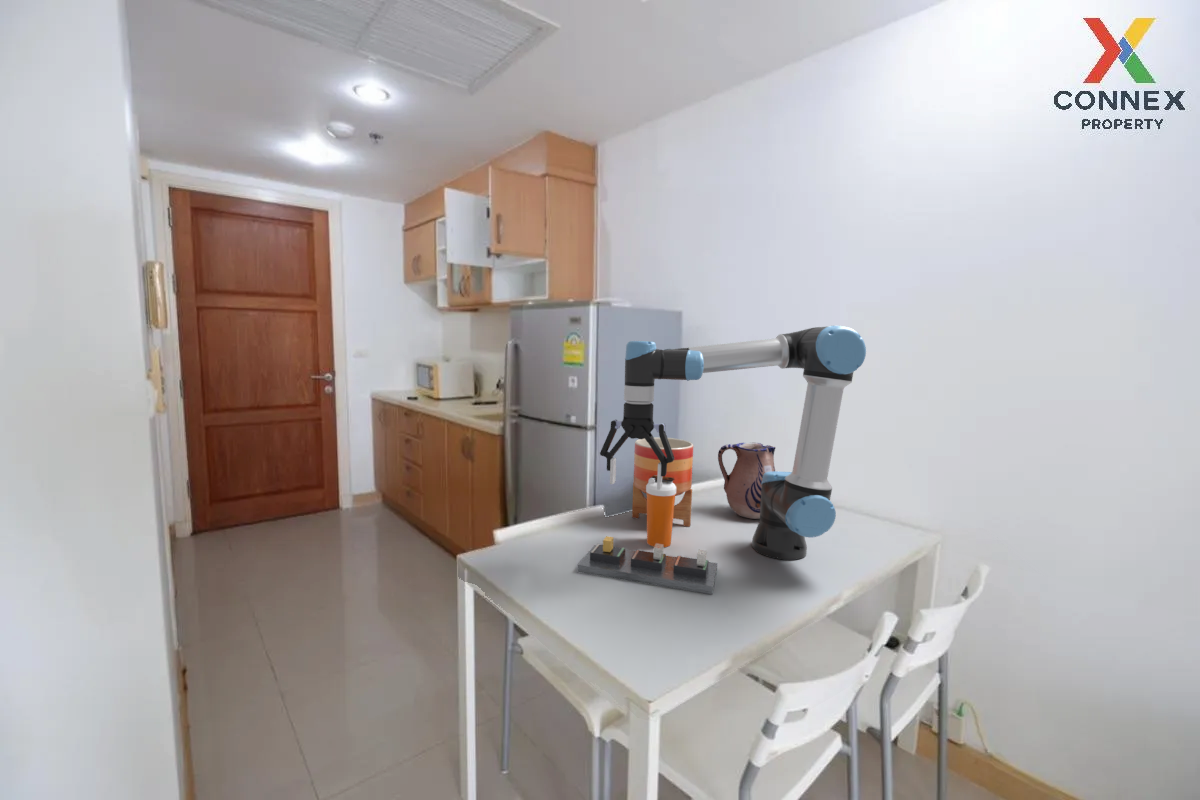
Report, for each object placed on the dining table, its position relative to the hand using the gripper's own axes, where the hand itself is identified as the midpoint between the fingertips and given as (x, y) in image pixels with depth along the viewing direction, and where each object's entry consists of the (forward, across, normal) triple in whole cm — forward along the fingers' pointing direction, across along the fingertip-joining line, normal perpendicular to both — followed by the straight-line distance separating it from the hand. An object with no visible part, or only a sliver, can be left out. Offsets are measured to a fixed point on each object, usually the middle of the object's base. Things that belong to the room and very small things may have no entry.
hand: (635, 485), depth 133 cm
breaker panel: (+22, -4, 0) cm, 23 cm away
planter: (+22, 0, -39) cm, 45 cm away
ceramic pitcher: (+22, -27, -57) cm, 67 cm away
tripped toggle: (+18, +7, 0) cm, 19 cm away
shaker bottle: (+22, -3, -20) cm, 30 cm away
